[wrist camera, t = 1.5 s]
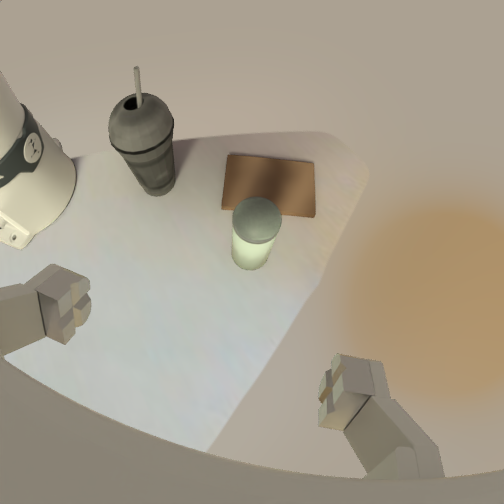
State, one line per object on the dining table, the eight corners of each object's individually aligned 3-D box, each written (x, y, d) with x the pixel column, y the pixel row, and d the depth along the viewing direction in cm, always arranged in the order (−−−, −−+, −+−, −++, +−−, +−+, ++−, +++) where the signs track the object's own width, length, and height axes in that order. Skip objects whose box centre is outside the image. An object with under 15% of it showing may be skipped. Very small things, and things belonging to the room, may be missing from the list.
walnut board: (221, 209, 41) (221, 205, 40) (227, 158, 44) (227, 154, 43) (313, 217, 42) (315, 214, 41) (312, 167, 44) (313, 163, 43)
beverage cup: (138, 160, 43) (100, 51, 24) (187, 160, 43) (171, 43, 24) (129, 205, 40) (74, 100, 21) (182, 206, 41) (154, 93, 22)
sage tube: (229, 269, 39) (230, 239, 29) (232, 233, 40) (234, 194, 31) (267, 272, 39) (280, 243, 29) (269, 236, 40) (282, 198, 31)
